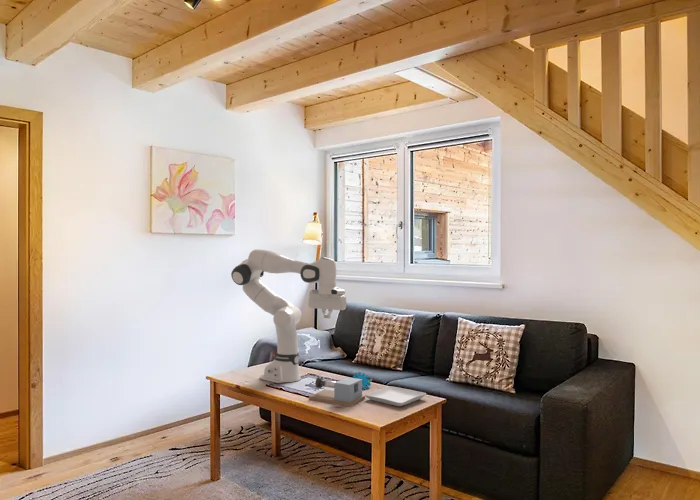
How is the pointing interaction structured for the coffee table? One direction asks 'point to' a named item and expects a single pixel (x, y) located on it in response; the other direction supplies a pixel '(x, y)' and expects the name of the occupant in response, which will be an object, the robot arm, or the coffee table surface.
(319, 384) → the shaft
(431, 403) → the coffee table surface
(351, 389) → the bearing block
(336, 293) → the robot arm
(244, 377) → the coffee table surface
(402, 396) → the salad plate
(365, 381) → the gear
